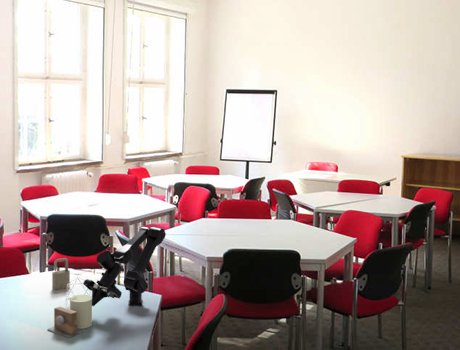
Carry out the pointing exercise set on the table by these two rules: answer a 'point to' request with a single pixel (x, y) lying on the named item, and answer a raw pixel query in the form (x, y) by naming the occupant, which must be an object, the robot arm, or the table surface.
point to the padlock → (60, 276)
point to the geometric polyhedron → (73, 285)
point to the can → (82, 310)
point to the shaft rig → (65, 322)
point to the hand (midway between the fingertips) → (92, 305)
